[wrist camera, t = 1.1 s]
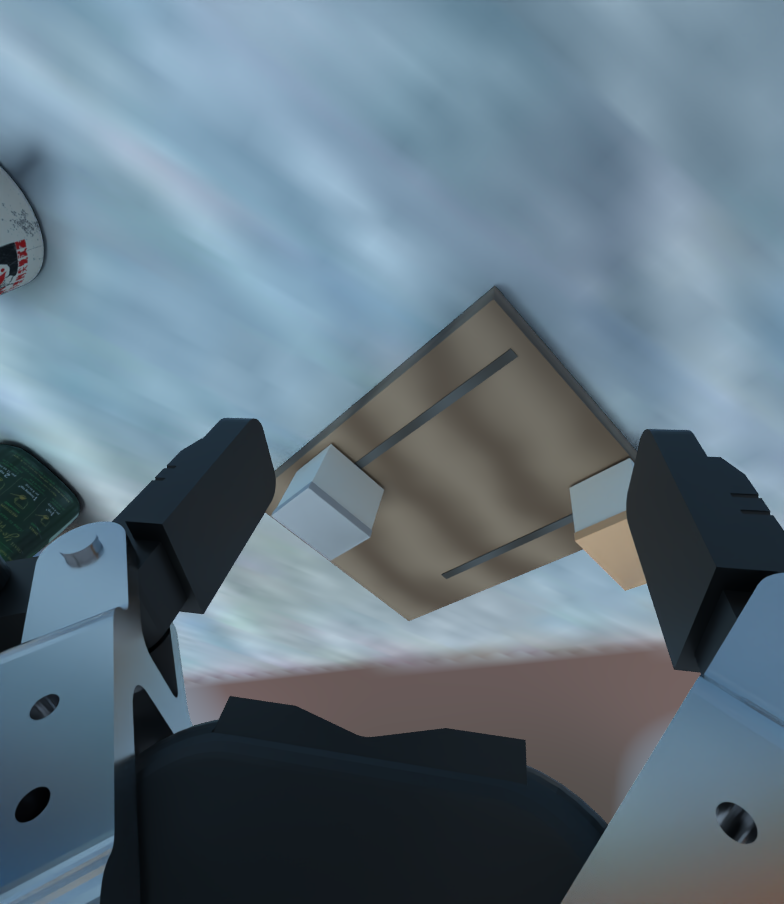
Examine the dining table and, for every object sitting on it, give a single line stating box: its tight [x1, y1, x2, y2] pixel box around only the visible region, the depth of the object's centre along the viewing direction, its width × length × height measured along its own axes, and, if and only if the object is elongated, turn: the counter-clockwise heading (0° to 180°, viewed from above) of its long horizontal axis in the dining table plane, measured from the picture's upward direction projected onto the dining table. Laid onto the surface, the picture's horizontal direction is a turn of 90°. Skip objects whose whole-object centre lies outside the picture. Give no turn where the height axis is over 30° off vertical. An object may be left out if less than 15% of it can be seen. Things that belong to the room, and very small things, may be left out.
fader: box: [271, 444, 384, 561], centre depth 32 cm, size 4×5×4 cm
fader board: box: [265, 286, 637, 621], centre depth 35 cm, size 24×18×2 cm
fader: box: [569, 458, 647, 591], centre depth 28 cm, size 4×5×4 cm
